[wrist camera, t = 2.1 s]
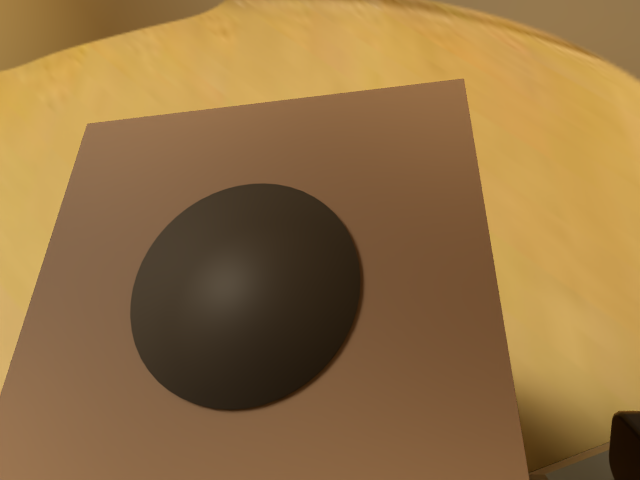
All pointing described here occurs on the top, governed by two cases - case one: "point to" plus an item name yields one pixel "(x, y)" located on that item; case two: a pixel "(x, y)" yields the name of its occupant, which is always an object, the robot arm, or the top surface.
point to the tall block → (269, 301)
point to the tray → (579, 467)
